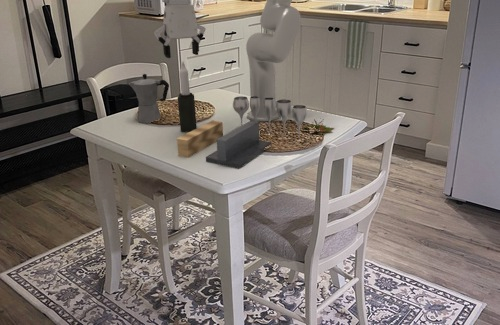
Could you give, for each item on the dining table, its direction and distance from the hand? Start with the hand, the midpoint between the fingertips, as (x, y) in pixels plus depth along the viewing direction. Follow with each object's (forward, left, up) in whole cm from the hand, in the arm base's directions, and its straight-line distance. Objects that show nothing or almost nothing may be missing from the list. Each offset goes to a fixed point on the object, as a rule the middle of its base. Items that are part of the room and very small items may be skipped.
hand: (181, 55), depth 164 cm
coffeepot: (-10, -25, -29) cm, 40 cm away
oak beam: (+4, +9, -29) cm, 30 cm away
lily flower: (-27, +37, -29) cm, 54 cm away
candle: (-7, -5, -29) cm, 30 cm away
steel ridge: (+4, +24, -29) cm, 37 cm away
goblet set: (-15, +24, -29) cm, 40 cm away
